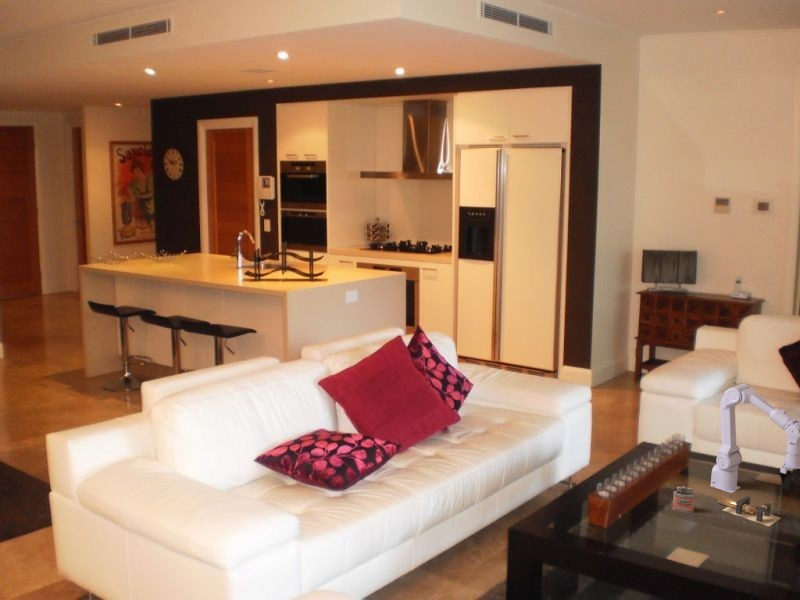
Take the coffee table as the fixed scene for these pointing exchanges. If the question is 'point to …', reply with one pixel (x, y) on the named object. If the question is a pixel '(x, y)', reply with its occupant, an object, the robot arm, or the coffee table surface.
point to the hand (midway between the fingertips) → (791, 486)
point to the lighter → (684, 500)
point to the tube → (732, 504)
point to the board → (759, 516)
